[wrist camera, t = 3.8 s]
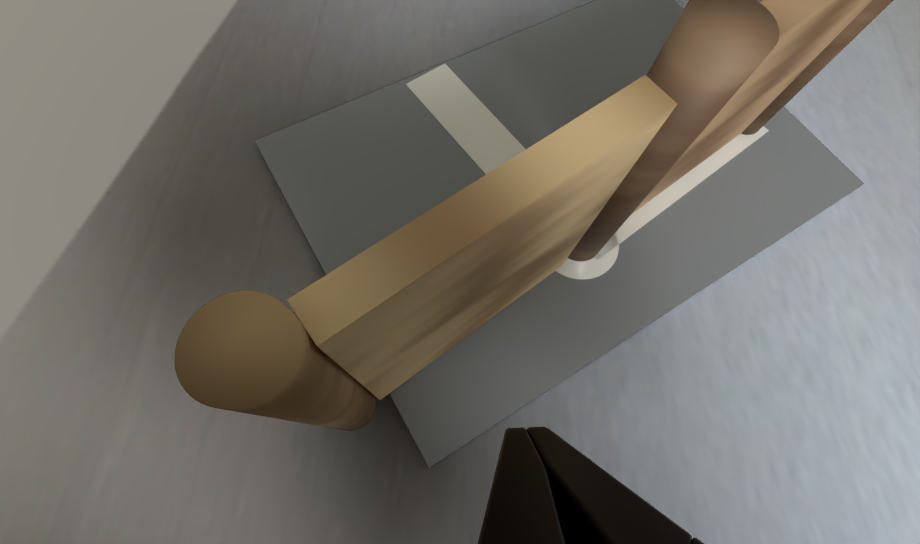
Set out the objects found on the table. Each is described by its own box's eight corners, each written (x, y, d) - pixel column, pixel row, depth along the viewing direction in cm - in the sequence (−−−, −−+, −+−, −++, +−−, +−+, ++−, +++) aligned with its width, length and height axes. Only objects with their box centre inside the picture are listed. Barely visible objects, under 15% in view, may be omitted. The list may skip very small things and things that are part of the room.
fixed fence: (574, 273, 19) (738, 73, 9) (543, 238, 20) (666, 12, 9) (764, 129, 23) (1040, -133, 12) (734, 103, 23) (975, -169, 13)
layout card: (858, 187, 22) (864, 183, 21) (429, 467, 16) (429, 468, 16) (648, -18, 26) (651, -24, 26) (256, 144, 20) (253, 140, 20)
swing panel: (539, 241, 19) (644, 40, 10) (567, 273, 18) (706, 95, 9) (317, 399, 16) (153, 334, 7) (343, 441, 16) (208, 435, 6)
